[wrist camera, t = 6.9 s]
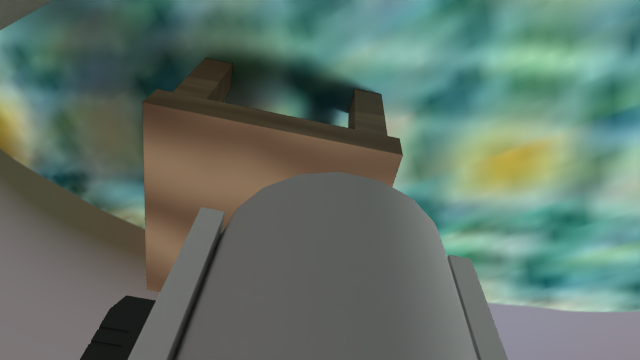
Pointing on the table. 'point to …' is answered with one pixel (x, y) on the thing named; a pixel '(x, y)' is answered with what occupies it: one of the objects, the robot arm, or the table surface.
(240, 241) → the can
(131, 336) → the robot arm
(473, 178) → the table surface
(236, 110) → the stool
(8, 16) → the canister
